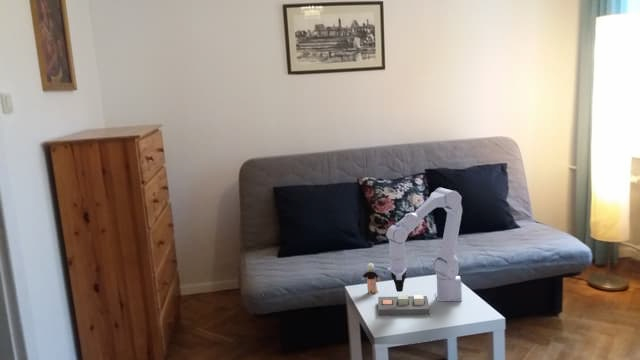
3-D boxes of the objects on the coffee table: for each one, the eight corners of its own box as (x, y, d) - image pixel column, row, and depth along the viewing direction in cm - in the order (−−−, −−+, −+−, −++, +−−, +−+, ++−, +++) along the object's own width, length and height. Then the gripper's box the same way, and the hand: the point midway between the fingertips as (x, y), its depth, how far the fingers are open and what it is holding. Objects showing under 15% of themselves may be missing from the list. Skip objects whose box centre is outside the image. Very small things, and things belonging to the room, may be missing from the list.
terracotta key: (392, 306, 198) (391, 299, 197) (392, 310, 194) (392, 303, 194) (383, 306, 198) (382, 300, 198) (383, 310, 195) (382, 303, 194)
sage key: (407, 301, 197) (407, 295, 196) (408, 305, 193) (407, 298, 193) (398, 302, 197) (397, 295, 197) (398, 305, 194) (398, 299, 193)
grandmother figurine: (380, 290, 215) (379, 261, 213) (380, 293, 211) (379, 264, 209) (362, 290, 216) (360, 262, 214) (362, 294, 212) (360, 265, 210)
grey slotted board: (427, 301, 200) (426, 295, 200) (429, 315, 188) (429, 308, 188) (378, 302, 203) (378, 296, 202) (378, 315, 191) (378, 309, 190)
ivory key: (423, 301, 196) (423, 294, 195) (424, 305, 192) (423, 298, 192) (413, 301, 196) (413, 294, 196) (414, 305, 193) (414, 298, 192)
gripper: (387, 251, 200) (388, 284, 202) (387, 263, 186) (389, 298, 188) (405, 250, 199) (406, 283, 201) (406, 263, 185) (408, 298, 187)
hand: (399, 290), depth 194 cm, fingers closed
